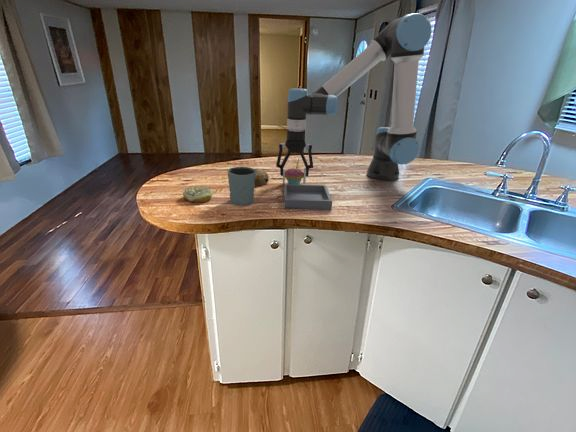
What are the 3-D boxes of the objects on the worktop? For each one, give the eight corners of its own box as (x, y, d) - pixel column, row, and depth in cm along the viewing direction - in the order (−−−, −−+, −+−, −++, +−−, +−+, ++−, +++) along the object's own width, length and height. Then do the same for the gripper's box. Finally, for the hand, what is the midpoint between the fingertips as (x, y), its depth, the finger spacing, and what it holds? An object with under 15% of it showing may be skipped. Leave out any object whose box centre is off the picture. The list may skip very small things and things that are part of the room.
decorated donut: (189, 206, 110) (188, 196, 109) (180, 196, 118) (179, 187, 116) (216, 200, 116) (216, 191, 114) (206, 192, 124) (205, 183, 122)
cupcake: (306, 184, 136) (308, 157, 130) (297, 189, 129) (298, 161, 124) (290, 180, 140) (291, 154, 134) (280, 185, 133) (280, 157, 128)
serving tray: (325, 193, 126) (325, 185, 125) (331, 210, 111) (332, 201, 109) (283, 192, 126) (284, 184, 124) (284, 209, 110) (284, 200, 109)
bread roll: (260, 194, 132) (268, 179, 129) (239, 183, 132) (246, 167, 128) (266, 187, 141) (274, 172, 137) (247, 176, 141) (254, 161, 137)
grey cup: (232, 195, 120) (230, 165, 115) (257, 196, 120) (257, 167, 115) (226, 206, 111) (224, 174, 106) (254, 207, 111) (253, 175, 106)
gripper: (269, 130, 121) (269, 185, 130) (323, 132, 121) (319, 186, 131) (270, 127, 127) (269, 179, 137) (321, 128, 128) (317, 180, 138)
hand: (293, 183), depth 134 cm, fingers closed on cupcake, 8 cm apart
